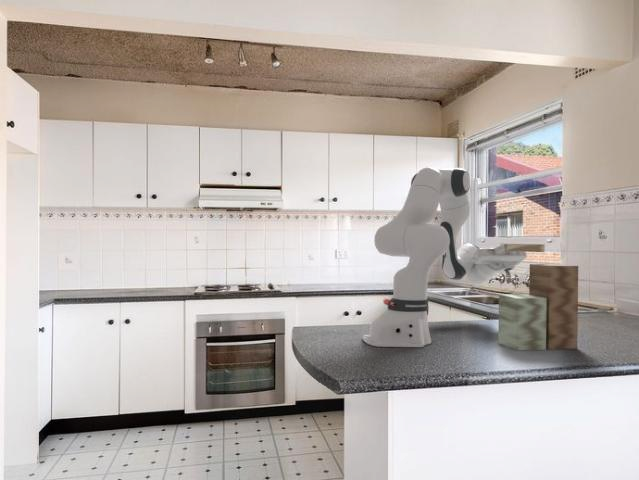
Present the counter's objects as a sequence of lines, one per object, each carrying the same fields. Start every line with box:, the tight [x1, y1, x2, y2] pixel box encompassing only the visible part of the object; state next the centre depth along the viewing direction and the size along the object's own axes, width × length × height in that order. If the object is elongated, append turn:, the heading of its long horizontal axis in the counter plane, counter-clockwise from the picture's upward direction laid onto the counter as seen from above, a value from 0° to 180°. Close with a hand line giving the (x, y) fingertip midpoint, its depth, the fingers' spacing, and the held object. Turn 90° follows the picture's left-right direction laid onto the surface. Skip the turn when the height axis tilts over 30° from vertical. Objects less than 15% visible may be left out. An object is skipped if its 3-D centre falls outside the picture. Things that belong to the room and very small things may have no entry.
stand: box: [497, 263, 579, 351], centre depth 146 cm, size 21×10×26 cm, turn 100°
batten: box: [500, 243, 546, 253], centre depth 164 cm, size 3×22×3 cm, turn 10°
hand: (509, 246), depth 171 cm, fingers closed on batten, 3 cm apart
